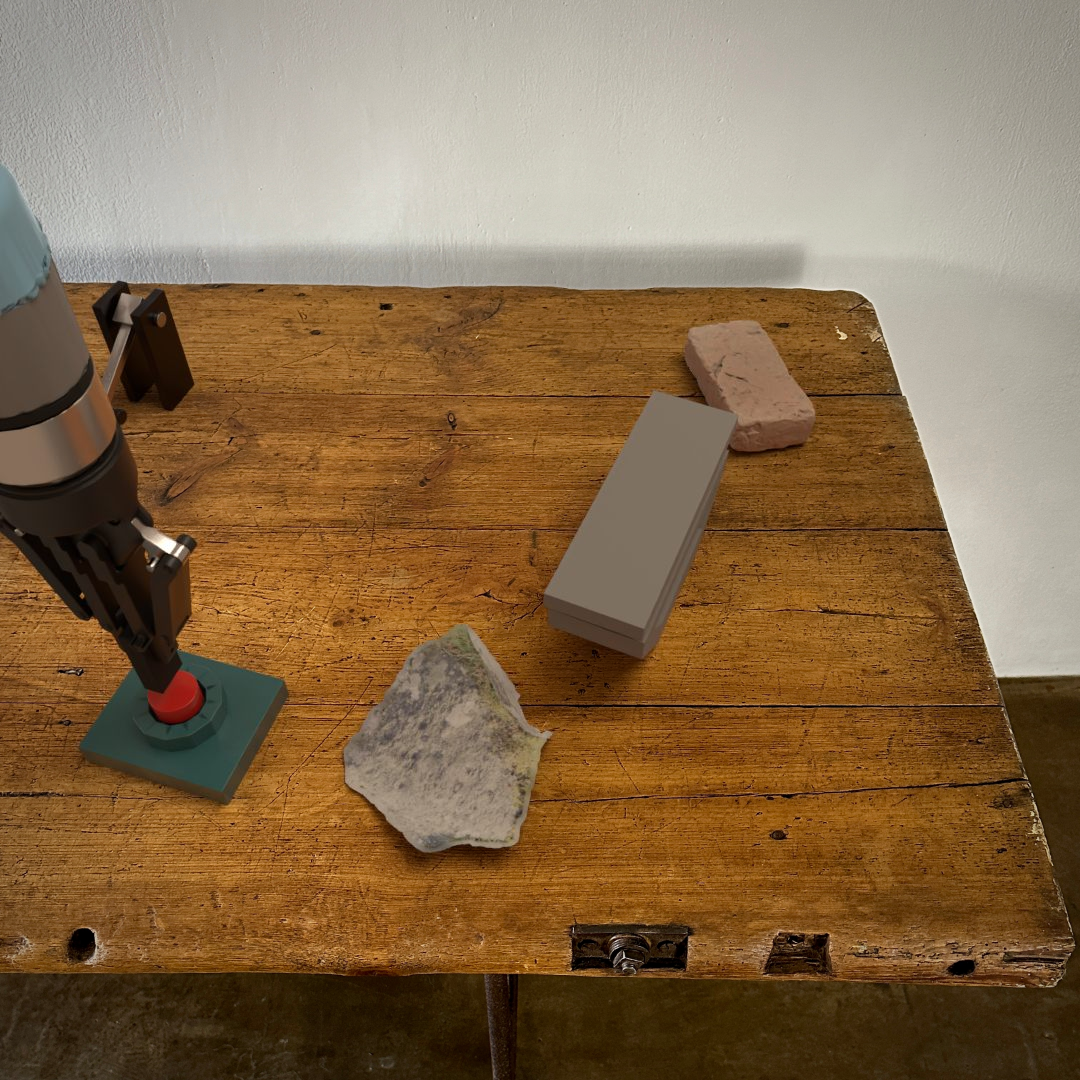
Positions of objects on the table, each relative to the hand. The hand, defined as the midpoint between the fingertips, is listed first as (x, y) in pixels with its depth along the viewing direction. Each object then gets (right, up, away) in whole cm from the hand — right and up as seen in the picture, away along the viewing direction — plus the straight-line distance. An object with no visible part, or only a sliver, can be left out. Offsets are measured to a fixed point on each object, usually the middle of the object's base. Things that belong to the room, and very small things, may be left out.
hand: (163, 675), depth 71 cm
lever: (-12, +27, +22) cm, 37 cm away
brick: (+49, +25, +32) cm, 63 cm away
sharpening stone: (+36, +6, +16) cm, 40 cm away
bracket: (-11, +24, +30) cm, 40 cm away
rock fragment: (+20, -7, +4) cm, 22 cm away
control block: (0, -5, +5) cm, 7 cm away
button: (0, -2, +3) cm, 4 cm away
